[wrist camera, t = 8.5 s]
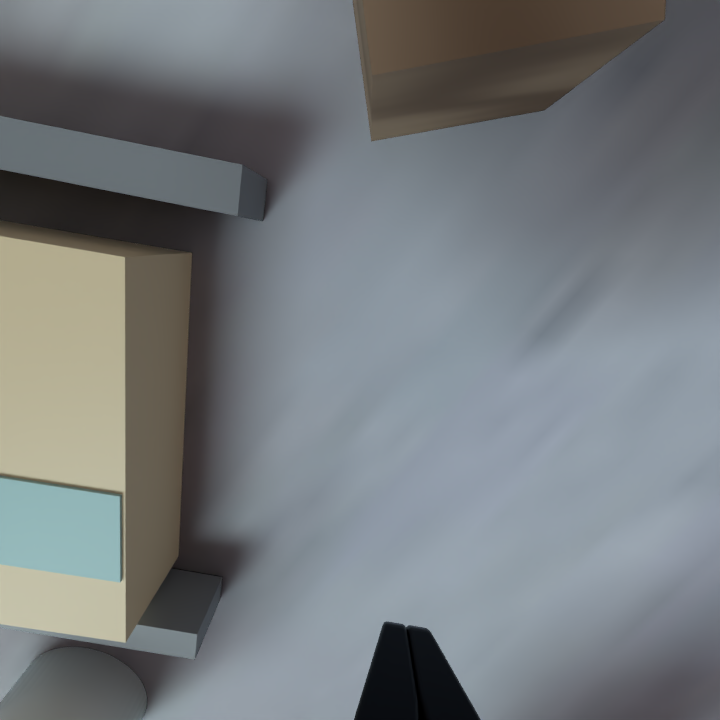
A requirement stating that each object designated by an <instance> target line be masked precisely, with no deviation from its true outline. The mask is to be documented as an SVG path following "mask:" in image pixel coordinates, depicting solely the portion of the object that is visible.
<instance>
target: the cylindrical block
mask: <svg viewBox="0 0 720 720" xmlns="http://www.w3.org/2000/svg"><path fill="white" fill-rule="evenodd" d="M146 707H147V695H146V690H145V688H144V685H143V684H142V682H141V680H140V679H139V677H138V676H137V675H136V674H135V673H134V672H133V671H132V670H131V669H130V668H129V667H128V666H127V665H126V664H124V663H123V662H121V661H120V660H118V659H116V658H114V657H113V656H111V655H108V654H106V653H103V652H101V651H97V650H94V649H89V648H83V647H62V648H57V649H53V650H50V651H47V652H45V653H43V654H41V655H40V656H39V657H37V658H36V659H35V660H34V661H33V662H32V663H31V664H30V666H29V667H28V668H27V669H26V671H25V672H24V673H23V674H22V676H21V677H20V678H19V679H18V681H17V682H16V683H15V684H14V686H13V687H12V688H11V689H10V691H9V692H8V693H7V694H6V696H5V697H4V698H3V699H2V701H1V702H0V720H142V717H143V715H144V713H145V711H146Z"/></svg>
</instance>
